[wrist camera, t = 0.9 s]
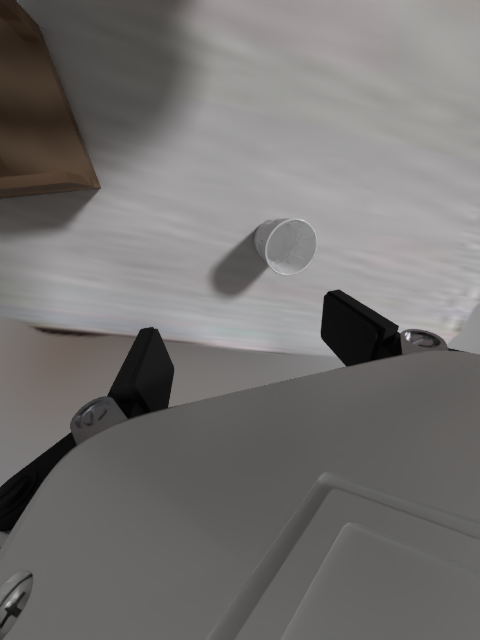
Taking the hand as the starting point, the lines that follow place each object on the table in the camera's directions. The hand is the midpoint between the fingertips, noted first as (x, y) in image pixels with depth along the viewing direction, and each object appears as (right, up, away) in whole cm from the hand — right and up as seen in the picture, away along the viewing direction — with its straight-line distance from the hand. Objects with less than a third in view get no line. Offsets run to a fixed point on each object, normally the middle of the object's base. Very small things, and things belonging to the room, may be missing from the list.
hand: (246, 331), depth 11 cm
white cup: (+5, +16, +26) cm, 31 cm away
